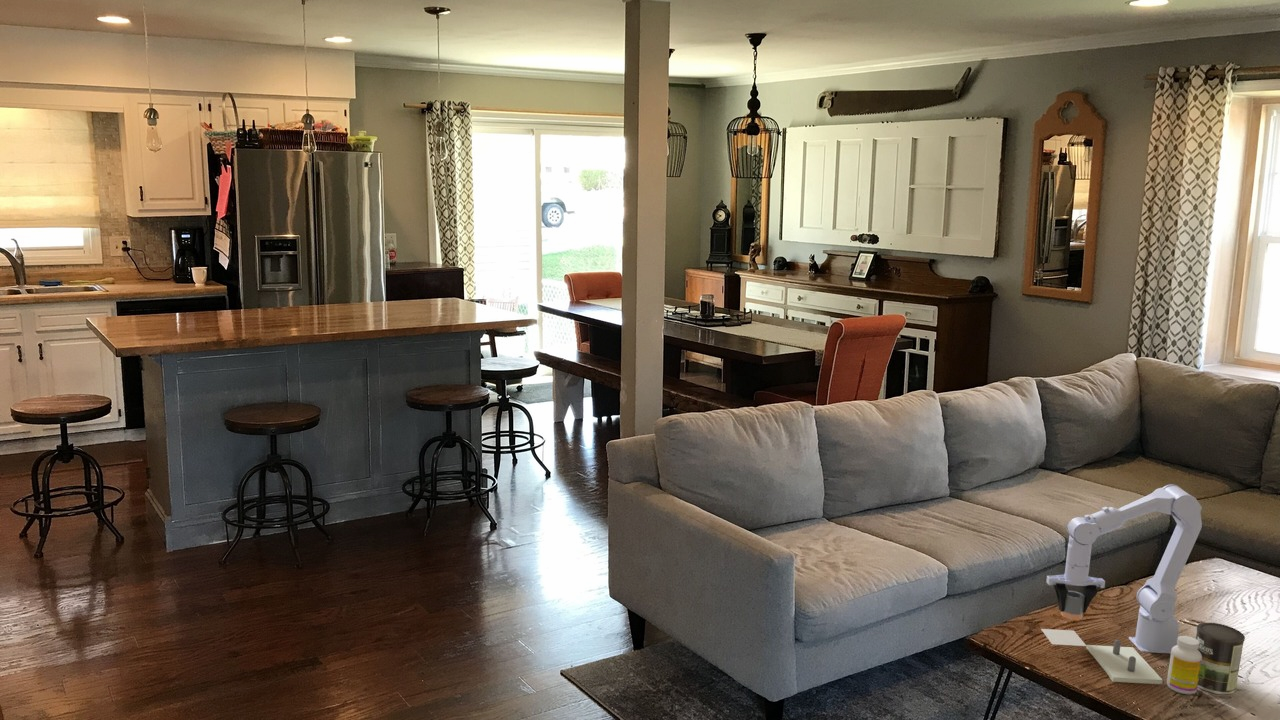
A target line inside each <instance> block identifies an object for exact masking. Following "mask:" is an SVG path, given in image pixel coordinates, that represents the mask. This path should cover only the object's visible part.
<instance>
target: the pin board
mask: <svg viewBox="0 0 1280 720" xmlns="http://www.w3.org/2000/svg"><path fill="white" fill-rule="evenodd" d="M1121 643H1122V642H1121V640H1119V639H1115V640H1114V641H1113V645H1094V644H1086V646H1085V648H1086V650H1087V651H1088V652H1089V653H1090V655H1091V656H1092V657H1093V658H1094V659H1095V660H1096V662H1097V663H1098V664H1099V666H1101V668H1102V669H1103V670H1104V671H1105V673H1106V674H1107V676H1108V678H1109V679H1110V680H1111V682H1112V683H1113V682H1114V683H1129V684H1130V683H1133V684H1149V685H1163V679H1162V678H1161V676H1160V675H1159V674H1158V673H1157V672H1156V671H1155V670H1154V668H1153V667H1152V666H1151V665H1149V664H1148V662H1147V661H1146V660H1145V659H1144V658H1143V656H1141V654H1140V653H1138V651H1137V650H1136V649H1135V648H1134V647H1133V646H1131V647H1130V646H1121V645H1122V644H1121Z"/></svg>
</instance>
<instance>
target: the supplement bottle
mask: <svg viewBox="0 0 1280 720" xmlns="http://www.w3.org/2000/svg"><path fill="white" fill-rule="evenodd" d="M1198 648H1199V641H1198V640H1197V639H1196V637H1191V636H1188V635H1178V639H1177V645H1176V646H1174V647H1173V648H1172V650H1171V654H1170V656H1169V657H1170V658H1169V663H1168V664H1169V665H1168V671H1167V676H1166V677H1167V678H1166V685H1167V686H1168V688H1169V689H1170V690H1172V691H1174V692H1175V693H1178V694H1182V695H1193V694H1195V693H1196V692H1197V691H1198V681H1199V674H1200V667H1201V660H1202V655H1201V653H1200V652H1199V651H1198V650H1197V649H1198Z"/></svg>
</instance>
